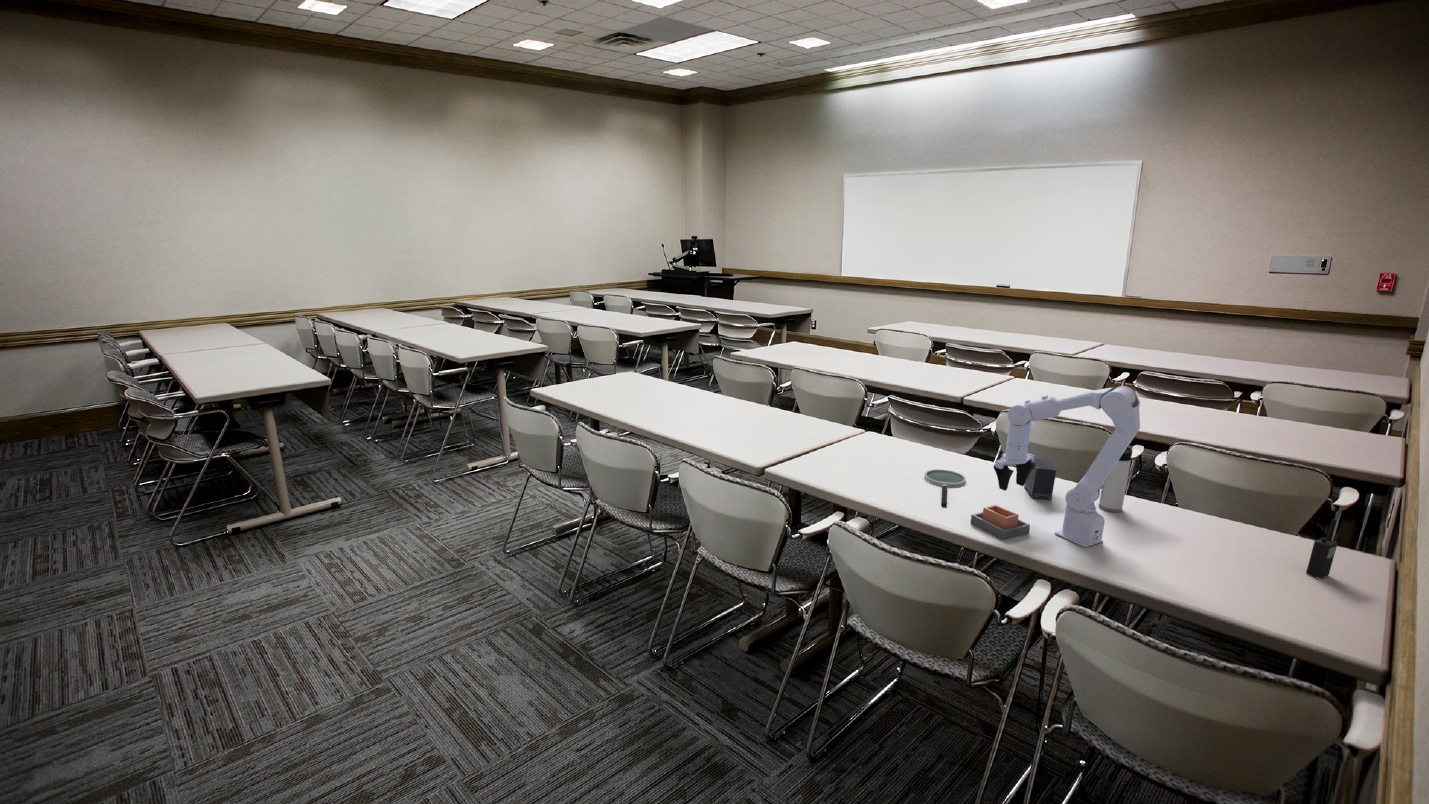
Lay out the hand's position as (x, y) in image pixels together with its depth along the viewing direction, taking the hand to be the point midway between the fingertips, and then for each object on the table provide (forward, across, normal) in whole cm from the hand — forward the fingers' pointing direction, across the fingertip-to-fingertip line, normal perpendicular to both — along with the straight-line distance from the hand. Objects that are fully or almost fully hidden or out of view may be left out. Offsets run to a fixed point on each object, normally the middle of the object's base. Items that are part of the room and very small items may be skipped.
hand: (1011, 487), depth 199 cm
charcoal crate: (+10, +9, +4) cm, 14 cm away
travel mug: (+10, -34, +11) cm, 37 cm away
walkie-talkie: (+10, -41, +60) cm, 73 cm away
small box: (+10, -24, -7) cm, 27 cm away
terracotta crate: (+9, +9, +4) cm, 14 cm away
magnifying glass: (+10, 0, -24) cm, 26 cm away
